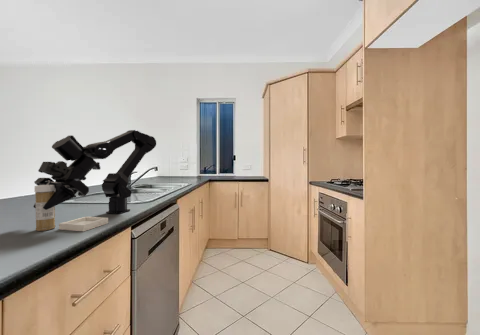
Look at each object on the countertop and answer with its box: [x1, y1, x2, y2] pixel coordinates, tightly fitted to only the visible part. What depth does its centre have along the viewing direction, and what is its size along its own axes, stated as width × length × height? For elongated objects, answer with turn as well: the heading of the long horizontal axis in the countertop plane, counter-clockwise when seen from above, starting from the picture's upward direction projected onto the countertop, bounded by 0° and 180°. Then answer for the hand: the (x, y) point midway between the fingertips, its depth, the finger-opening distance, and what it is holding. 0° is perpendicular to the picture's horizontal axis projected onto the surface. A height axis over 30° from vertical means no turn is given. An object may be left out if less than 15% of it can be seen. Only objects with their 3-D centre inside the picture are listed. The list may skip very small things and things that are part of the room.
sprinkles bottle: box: [34, 185, 56, 232], centre depth 66 cm, size 5×5×13 cm
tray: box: [58, 216, 109, 232], centre depth 70 cm, size 9×9×2 cm
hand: (39, 208), depth 65 cm, fingers closed on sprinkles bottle, 4 cm apart
